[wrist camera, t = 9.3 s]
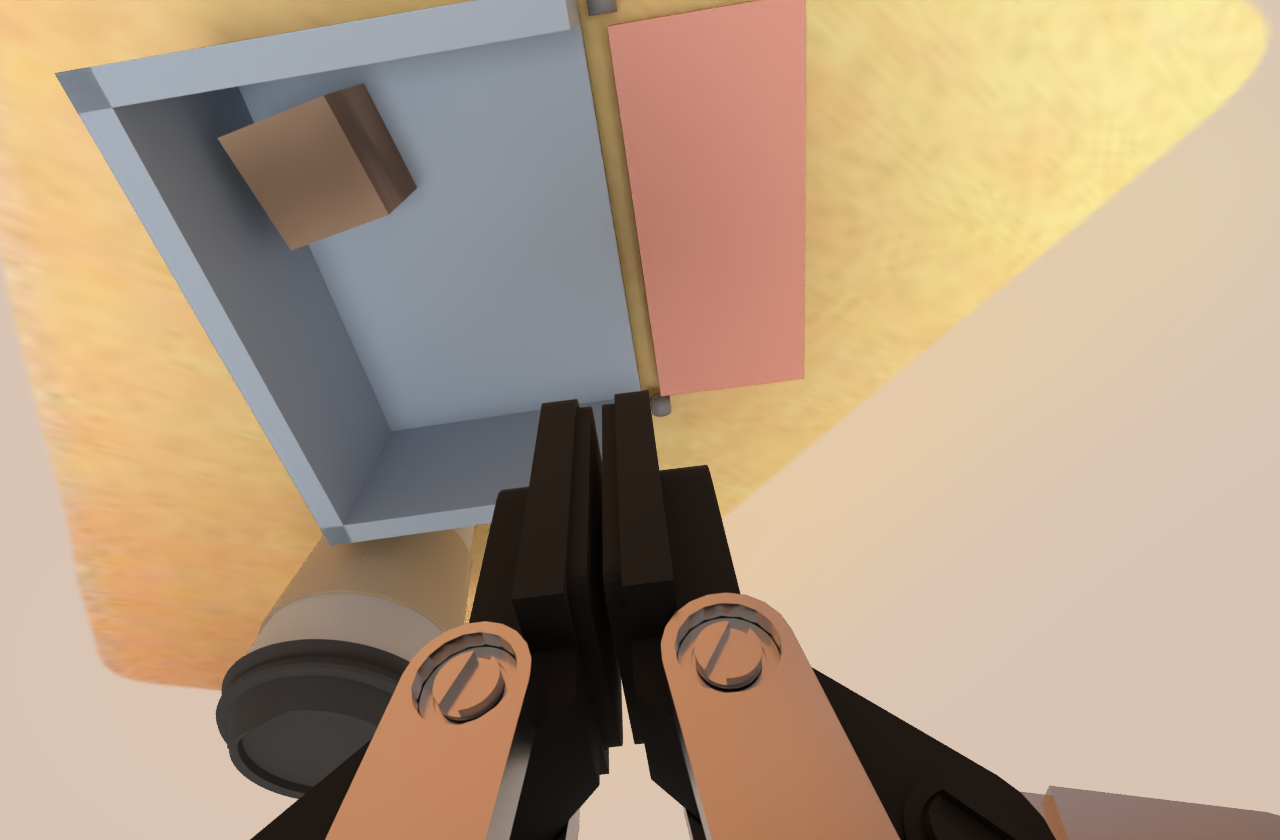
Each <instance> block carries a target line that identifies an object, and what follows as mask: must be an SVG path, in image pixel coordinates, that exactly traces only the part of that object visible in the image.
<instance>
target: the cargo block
mask: <svg viewBox="0 0 1280 840" xmlns="http://www.w3.org/2000/svg"><path fill="white" fill-rule="evenodd" d="M217 139H218V140H219V142H220V143H221V145H222V146H223V148H224V149H225V151H226V152H227V154H228V155H229V157H230V158H231V160H232V161H233V163H234V164H235V166H236V168H237V169H238V171H239V172H240V174H241V175H242V177H243V178H244V180H245V181H246V183H247V184H248V186H249V187H250V189H251V190H252V192H253V193H254V195H255V196H256V198H257V200H258V201H259V203H260V204H261V206H262V207H263V209H264V210H265V212H266V213H267V215H268V216H269V218H270V219H271V221H272V222H273V224H274V225H275V227H276V228H277V230H278V232H279V233H280V235H281V236H282V238H283V239H284V241H285V242H286V244H287V245H288V247H289V248H290V250H294V249H297V248H300V247H302V246H305V245H308V244H310V243H313V242H316V241H319V240H321V239H324V238H327V237H330V236H332V235H335V234H338V233H340V232H343V231H346V230H349V229H351V228H354V227H357V226H360V225H362V224H365V223H368V222H370V221H373V220H376V219H379V218H381V217H384V216H387V215H389V214H390V213H391V212H392V211H393V210H394V209H396V208H397V207H398V206H399V205H400V204H401V203H402V202H403V201H404V200H405V199H406V198H407V197H408V196H409V195H410V194H411V193H412V192H414V191H415V190H416V189H417V186H416V184H415V182H414V180H413V178H412V176H411V174H410V172H409V171H408V169H407V167H406V165H405V163H404V161H403V159H402V157H401V155H400V153H399V151H398V149H397V147H396V145H395V143H394V141H393V139H392V137H391V135H390V133H389V131H388V129H387V127H386V125H385V123H384V121H383V120H382V118H381V116H380V114H379V112H378V110H377V108H376V106H375V104H374V102H373V100H372V98H371V96H370V94H369V92H368V90H367V88H366V86H365V84H364V83H363V84H359V85H356V86H353V87H350V88H346V89H343V90H340V91H336V92H333V93H330V94H327V95H323V96H321V97H318V98H316V99H313V100H311V101H308V102H306V103H303V104H301V105H298V106H296V107H293V108H291V109H288V110H286V111H284V112H281V113H279V114H276V115H274V116H271V117H269V118H266V119H264V120H261V121H259V122H256V123H254V124H251V125H249V126H246V127H244V128H241V129H239V130H236V131H234V132H231V133H229V134H226V135H224V136H221V137H219V138H217Z"/></svg>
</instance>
